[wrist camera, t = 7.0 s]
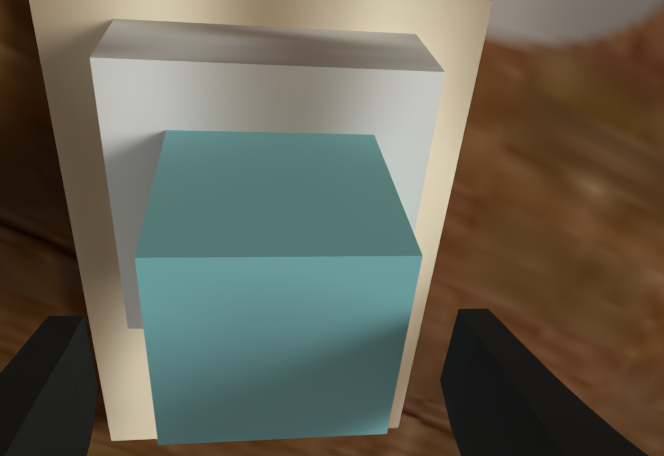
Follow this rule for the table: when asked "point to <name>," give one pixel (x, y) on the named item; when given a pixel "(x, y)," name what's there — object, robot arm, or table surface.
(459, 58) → the stacking base
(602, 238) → the table surface
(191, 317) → the teal cube
